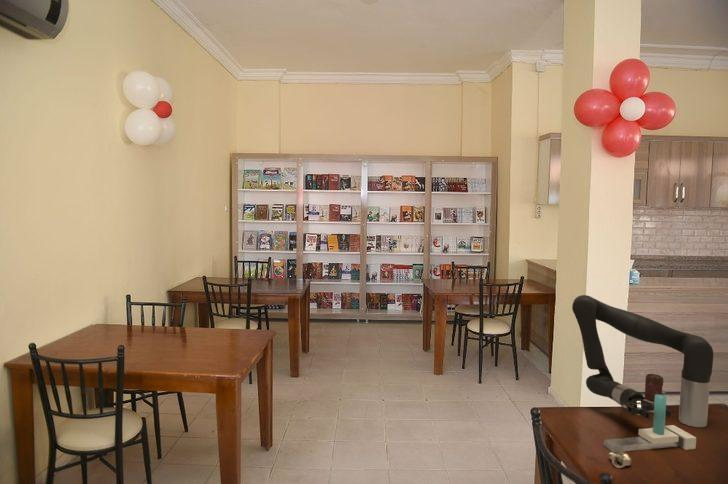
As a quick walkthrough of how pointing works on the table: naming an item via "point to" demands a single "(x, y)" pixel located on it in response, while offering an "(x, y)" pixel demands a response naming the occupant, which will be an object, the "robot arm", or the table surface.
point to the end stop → (683, 437)
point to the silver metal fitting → (620, 459)
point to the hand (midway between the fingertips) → (660, 415)
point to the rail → (634, 444)
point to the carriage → (659, 424)
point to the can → (653, 387)
